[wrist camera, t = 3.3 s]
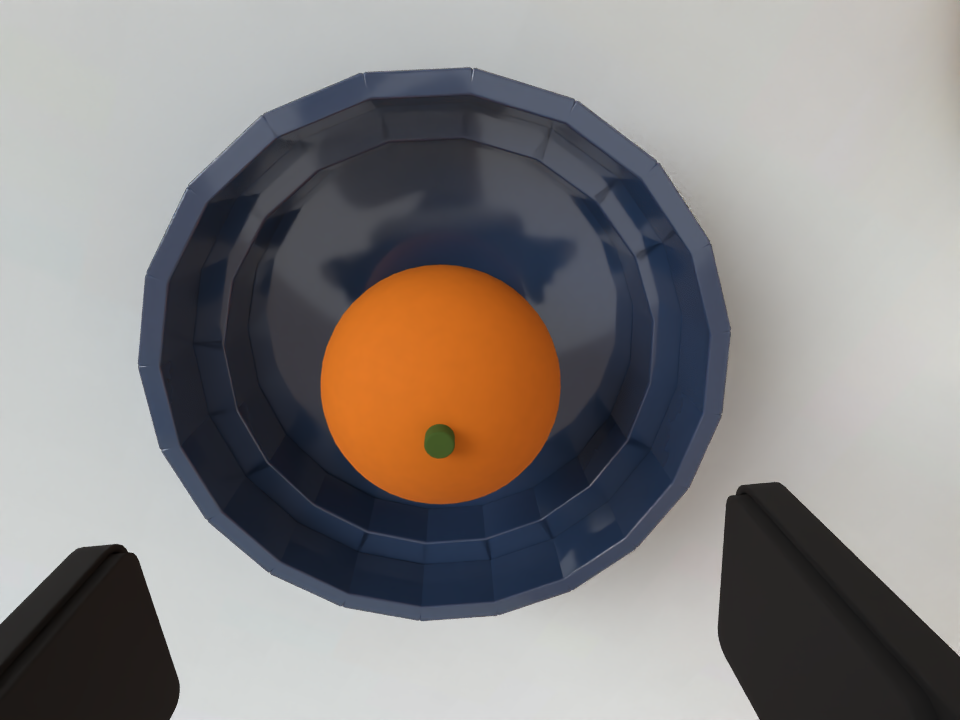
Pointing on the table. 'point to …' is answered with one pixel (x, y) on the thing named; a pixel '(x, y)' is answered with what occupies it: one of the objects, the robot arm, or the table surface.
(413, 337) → the orange
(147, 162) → the table surface
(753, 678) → the robot arm
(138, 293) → the table surface
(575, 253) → the blue bowl
